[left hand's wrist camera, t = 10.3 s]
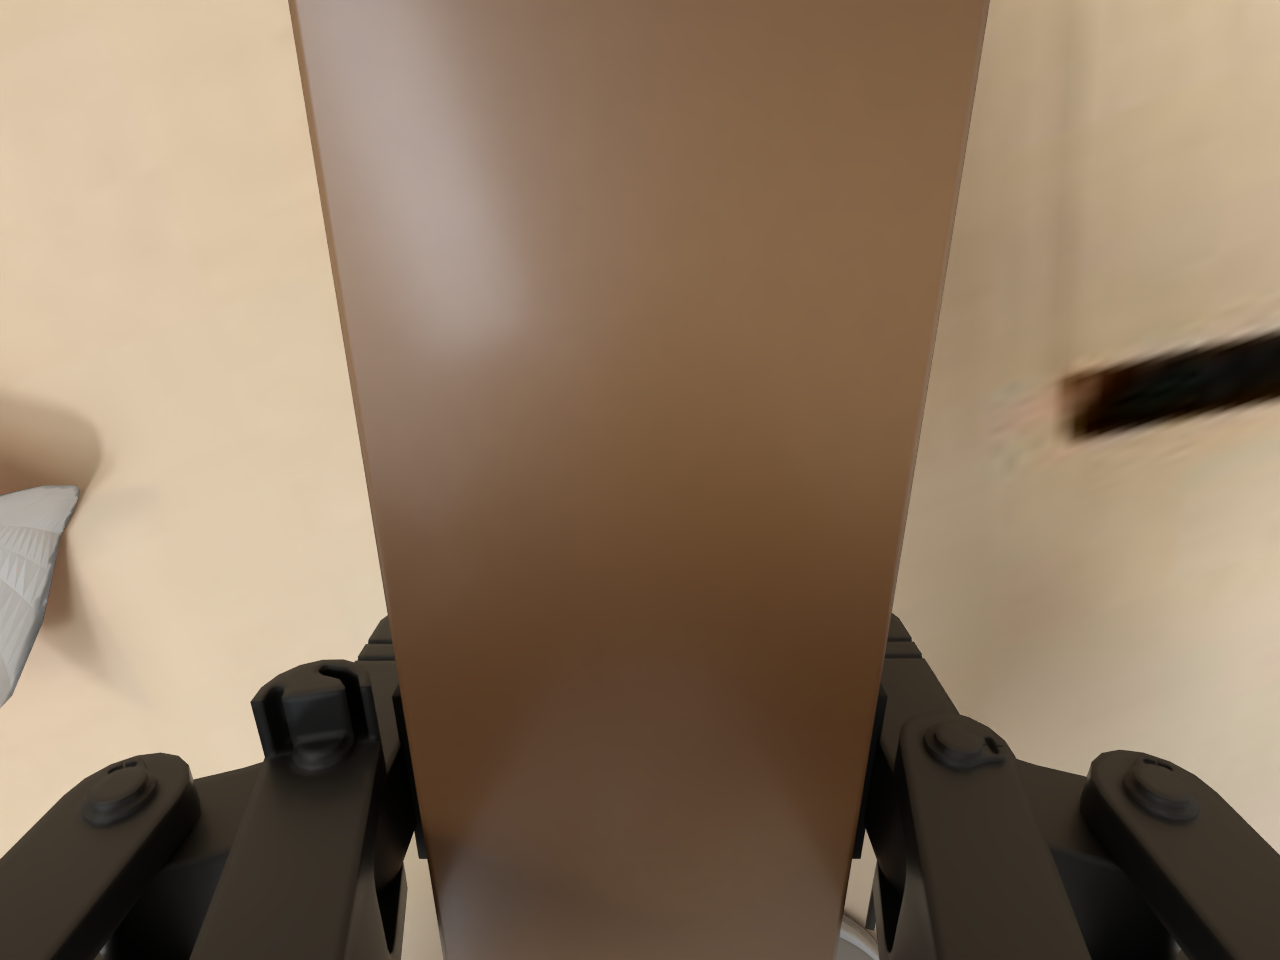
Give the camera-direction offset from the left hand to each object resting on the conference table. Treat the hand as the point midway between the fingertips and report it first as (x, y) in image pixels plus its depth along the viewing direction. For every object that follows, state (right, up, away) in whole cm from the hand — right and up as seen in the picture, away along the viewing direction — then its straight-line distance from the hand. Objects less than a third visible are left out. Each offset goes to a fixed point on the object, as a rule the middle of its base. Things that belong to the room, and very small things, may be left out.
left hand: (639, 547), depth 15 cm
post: (0, +20, -7) cm, 22 cm away
